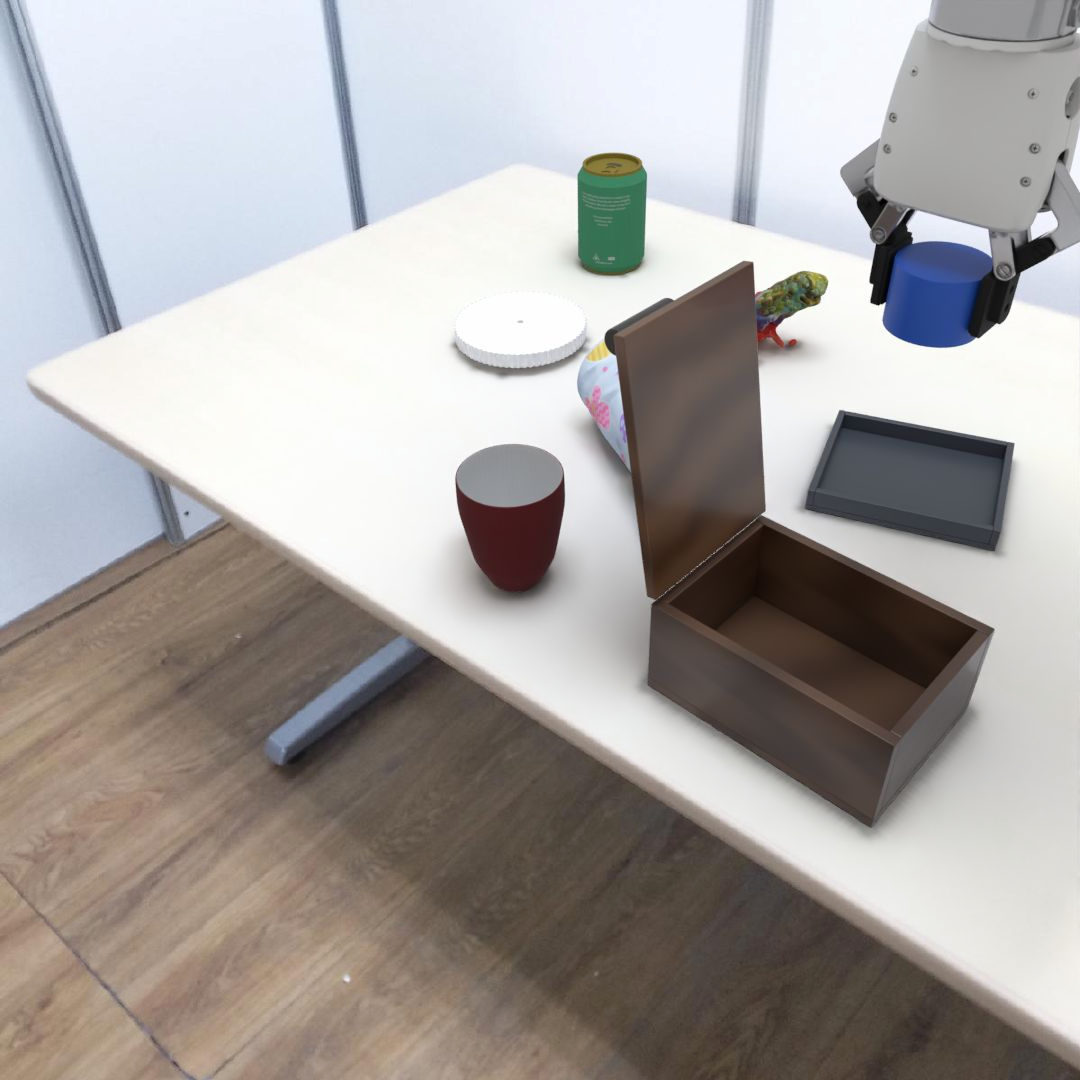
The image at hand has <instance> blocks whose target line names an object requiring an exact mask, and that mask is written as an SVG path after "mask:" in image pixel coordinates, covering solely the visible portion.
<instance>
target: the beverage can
mask: <svg viewBox="0 0 1080 1080" xmlns="http://www.w3.org/2000/svg"><path fill="white" fill-rule="evenodd" d="M647 187H648V172H647V170H646V168H645V167H644V165H643V161H642V159H640V158H639V157H638V156H636V155H633V154H629V153H626V152H625V153H624V152H602V153H597V154H593V155H591V156H588V157H587V158H585V159H583V161H582V166H581V167H580V169H579V170H578V172H577V244H578V245H577V251H578V253H577V255H578V258H579V260H580V261H581V264H582V266H583V268H585V270H587V271H589V272H591V273H595V274H599V275H605V276H606V275H607V276H615V275H616V276H617V275H623V274H628V273H631V272H633V271H635V270H636V269H637V268H639V266H640V265H641V262H642V260H643V259H644V257H645V252H646V251H645V245H646V223H647V222H646V221H647V220H646V218H647V190H648V189H647Z"/></svg>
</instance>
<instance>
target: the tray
mask: <svg viewBox="0 0 1080 1080" xmlns="http://www.w3.org/2000/svg"><path fill="white" fill-rule="evenodd" d="M1014 450H1015V442H1011V441H1007V440H1000V439H995V438H990V437H985V436H979V435H974V434H968V433H964V432H958V431H954V430H948V429H943V428H938V427H932V426H928V425H921V424H916V423H911V422H907V421H906V422H904V421H901V420H897V419H896V420H895V419H891V418H884V417H879V416H874V415H869V414H863V413H858V412H854V411H848V410H843V409H839V410H838V412H837V415H836V417H835V420H834V423H833V425H832V428H831V430H830V433H829V435H828V438H827V441H826V443H825V446H824V448H823V450H822V454H821V456H820V459H819V461H818V463H817V466H816V469H815V471H814V474H813V476H812V478H811V481H810V484H809V486H808V489H807V493H806V500H805V506H804V509H806V510H810V511H815V512H818V513H824V514H828V515H832V516H837V517H841V518H844V519H845V518H846V519H849V520H854V521H858V522H863V523H868V524H873V525H876V526H881V527H886V528H890V529H895V530H900V531H904V532H907V533H913V534H917V535H921V536H925V537H930V538H935V539H938V540H939V539H940V540H944V541H948V542H953V543H957V544H962V545H967V546H971V547H974V548H975V547H976V548H980V549H985V550H989V551H994V552H995V551H996V549H997V546H998V543H999V540H1000V537H1001V533H1002V529H1003V522H1004V516H1005V511H1006V510H1005V509H1006V502H1007V497H1008V491H1009V490H1008V489H1009V483H1010V476H1011V471H1012V470H1011V469H1012V463H1013V457H1014Z"/></svg>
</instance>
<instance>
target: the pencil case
mask: <svg viewBox="0 0 1080 1080" xmlns="http://www.w3.org/2000/svg"><path fill="white" fill-rule="evenodd" d="M580 364H581V365H580V366H579V370H578V373H577V379H576V385H577V387H576V389H577V392H578V396H579V397H580V399H581V401H582V403H583V405H584V406H585V407H586V408H587V410H588V411H589V414H590V416H591V417H592V419H593V420H594V421H595V424H596V425H597V427H598V429H599V430H600V432H601V433H602V435H603V437H604V438H605V439H606V441H607V443H609V445H610V446H611V447H612V448H613V450H614V451H615V453H616V454H617V455H618V457H619V458H620V459H621V461H622V462H623V463H624V466H625V467H626V468H627V469H628V471H629V472H630V473H631V468H630V460H629V453H628V445H627V437H626V429H625V422H624V414H623V406H622V398H621V391H620V383H619V375H618V367H617V360H616V356H615V355H613V354H612V353H611V352H610V351H609V350H608V349H607V347H606V345H605V341H604V338H603V339H601V340H599V341H598V342H597V343H596V344H594V345H593V347H591V349H590V350H589V351H588V353H587V354H586V355H585V357H584V359H583V360H582V362H581V363H580Z"/></svg>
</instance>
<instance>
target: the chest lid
mask: <svg viewBox="0 0 1080 1080" xmlns="http://www.w3.org/2000/svg"><path fill="white" fill-rule="evenodd" d="M754 265H755V264H754V261H749V260H742V261H740V262H739V263H737V264H735V265H733V266H731V267H729V268H728V269H727V270H725V271H723V272H721V273H719V274H718V275H716V276H714V277H712V278H711V279H709V280H707V281H706V282H704V283H702V284H700V285H699V286H697V287H695V288H693V289H692V290H690V291H688V292H686V293H685V294H683V295H681V296H680V297H677V298H675V299H673V298H671V297H664V298H662V299H660V300H658V301H656V302H654V303H653V304H650V306H648V307H646V308H644V309H642V310H641V311H639V312H637V313H636V314H633V315H631V316H630V317H628V318H627V319H625V320H623V321H621V322H619V323H618V324H616V325H614V326H613V327H611V328H609V329H607V331H605V333H604V338H603V339H604V341H605V345H606V347H607V349H608V350H609V351H610V352H611V353H612V354H613V355H615V356H616V360H617V367H618V375H619V383H620V391H621V398H622V406H623V414H624V422H625V429H626V437H627V445H628V453H629V460H630V468H631V472H630V475H631V482H632V491H633V498H634V499H633V500H634V506H635V514H636V523H637V531H638V537H639V545H640V552H641V560H642V569H643V576H644V582H645V591H646V592H645V593H646V597H647V598H649V599H652V600H654V601H656V600H657V599H658V598H660V597H661V596H662V595H663V594H665V593H666V592H667V591H668V590H670V589H671V588H672V587H673V586H675V585H676V584H677V583H678V582H679V581H681V580H682V579H683V578H684V577H686V576H687V575H688V574H689V573H690V572H692V571H693V570H694V569H695V568H697V567H698V566H699V565H700V564H702V563H703V562H704V561H705V560H706V559H708V558H709V557H710V556H711V555H713V554H714V553H715V552H716V551H717V550H719V549H720V548H721V547H722V546H724V545H725V544H726V543H727V542H729V541H730V540H731V539H732V538H733V537H735V536H736V535H737V534H738V533H740V532H741V531H742V530H743V529H745V528H746V527H747V526H748V525H749V524H751V523H752V522H753V521H755V519H757V518H758V517H759V516H760V515H763V514H764V513H765V512H766V511H767V505H766V487H765V484H766V483H765V467H764V466H765V465H764V464H765V463H764V448H763V447H764V446H763V445H764V443H763V428H762V427H763V426H762V407H761V387H760V385H761V384H760V367H759V366H760V365H759V348H758V345H759V343H758V342H757V322H756V302H755V294H756V285H755V284H756V283H755V266H754Z"/></svg>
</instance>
